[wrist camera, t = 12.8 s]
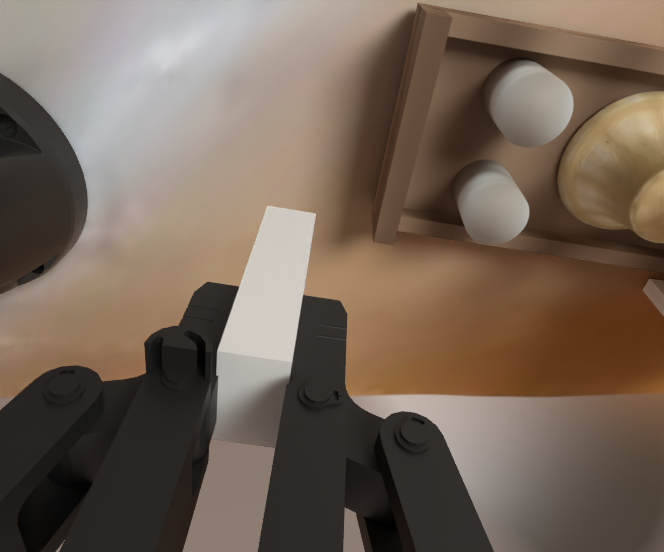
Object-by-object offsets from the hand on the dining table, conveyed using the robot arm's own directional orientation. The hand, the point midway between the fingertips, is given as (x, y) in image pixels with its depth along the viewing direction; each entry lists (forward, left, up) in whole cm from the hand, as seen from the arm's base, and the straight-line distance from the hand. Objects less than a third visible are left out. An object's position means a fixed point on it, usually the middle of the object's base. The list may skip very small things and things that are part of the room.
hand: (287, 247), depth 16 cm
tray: (+14, 0, -16) cm, 22 cm away
